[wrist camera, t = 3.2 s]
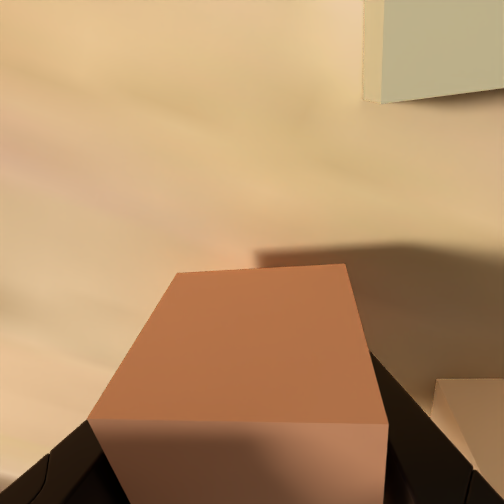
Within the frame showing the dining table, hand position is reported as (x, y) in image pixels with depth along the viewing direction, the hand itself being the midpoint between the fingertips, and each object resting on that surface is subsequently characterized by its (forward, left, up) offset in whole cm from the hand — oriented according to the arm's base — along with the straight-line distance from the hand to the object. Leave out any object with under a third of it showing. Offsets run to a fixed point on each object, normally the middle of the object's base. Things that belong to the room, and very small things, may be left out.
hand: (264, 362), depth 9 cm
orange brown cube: (0, 0, -1) cm, 1 cm away
